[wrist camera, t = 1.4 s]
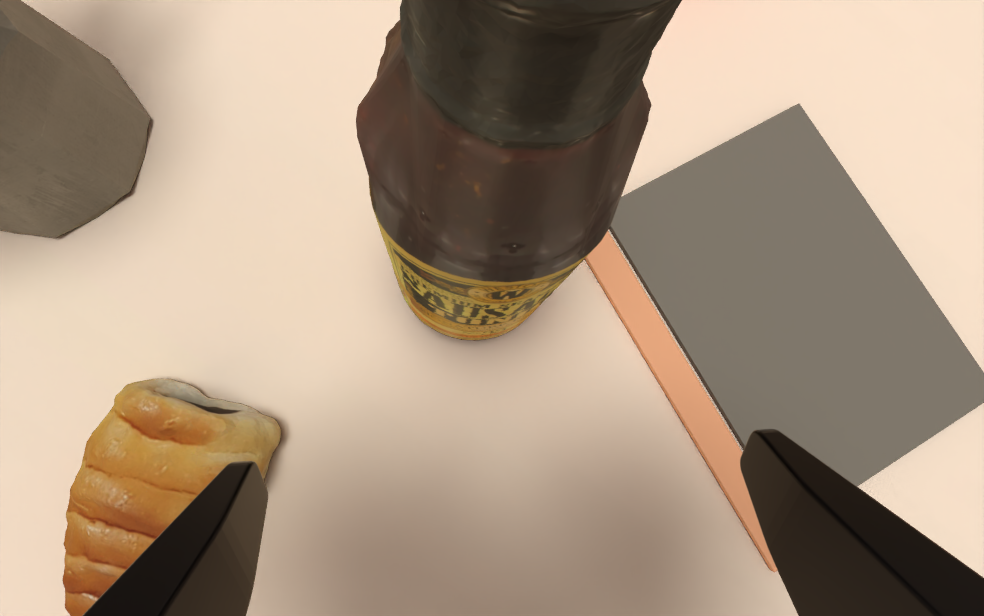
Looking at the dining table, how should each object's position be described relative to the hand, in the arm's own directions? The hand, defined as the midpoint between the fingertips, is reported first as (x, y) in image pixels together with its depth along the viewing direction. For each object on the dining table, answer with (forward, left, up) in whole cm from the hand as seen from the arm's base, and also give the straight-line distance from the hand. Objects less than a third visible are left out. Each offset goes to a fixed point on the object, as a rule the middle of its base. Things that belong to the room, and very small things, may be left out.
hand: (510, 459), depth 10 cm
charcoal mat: (-2, -15, -13) cm, 20 cm away
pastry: (+4, +12, -14) cm, 18 cm away
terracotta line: (+2, -8, -13) cm, 16 cm away
